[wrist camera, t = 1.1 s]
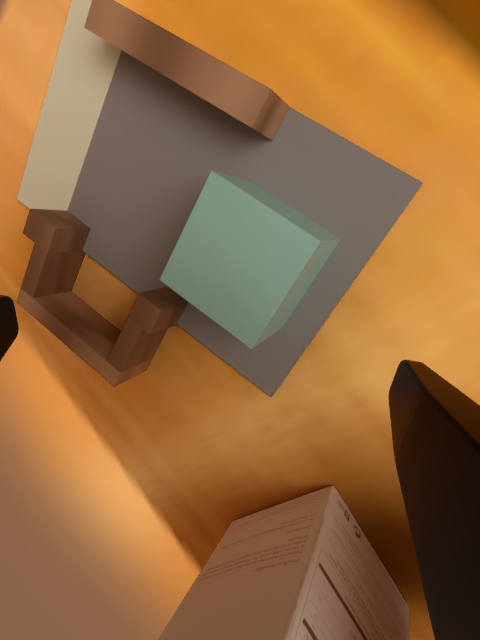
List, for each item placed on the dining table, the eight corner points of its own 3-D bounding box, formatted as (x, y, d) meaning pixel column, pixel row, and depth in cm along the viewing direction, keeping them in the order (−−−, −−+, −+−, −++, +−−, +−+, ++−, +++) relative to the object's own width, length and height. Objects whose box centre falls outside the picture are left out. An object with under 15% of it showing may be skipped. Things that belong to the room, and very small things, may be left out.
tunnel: (292, 109, 18) (271, 89, 15) (152, 375, 24) (120, 392, 21) (136, 20, 20) (95, -10, 17) (45, 286, 26) (5, 292, 23)
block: (340, 239, 18) (320, 241, 14) (282, 327, 19) (251, 349, 16) (251, 181, 19) (211, 170, 15) (204, 271, 21) (159, 279, 17)
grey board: (422, 183, 16) (422, 182, 16) (272, 395, 21) (270, 397, 20) (80, -12, 21) (75, -15, 20) (20, 199, 25) (16, 198, 25)
